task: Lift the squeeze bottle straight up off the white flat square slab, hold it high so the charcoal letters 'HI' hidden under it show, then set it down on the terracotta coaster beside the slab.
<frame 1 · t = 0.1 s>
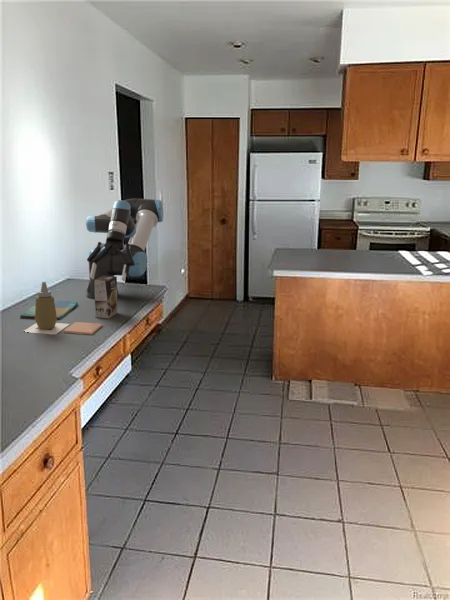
hand: (107, 279, 211), 15 cm above the worktop, tool tilted 35°, fingers open, 13 cm apart
white flat square slab: (46, 328, 194), on the worktop
squeeze bottle: (46, 328, 194), resting on white flat square slab
coaster pad: (83, 329, 195), on the worktop
dish towel: (50, 312, 216), on the worktop
coffee box: (106, 315, 214), on the worktop
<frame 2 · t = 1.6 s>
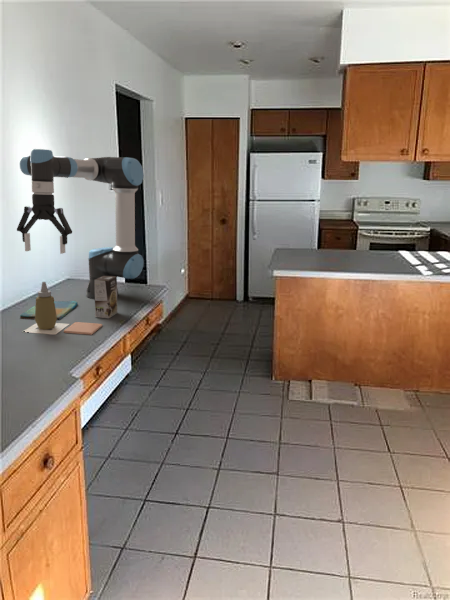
hand: (45, 252, 187), 30 cm above the worktop, tool pointing down, fingers open, 13 cm apart
nothing on the worktop moved.
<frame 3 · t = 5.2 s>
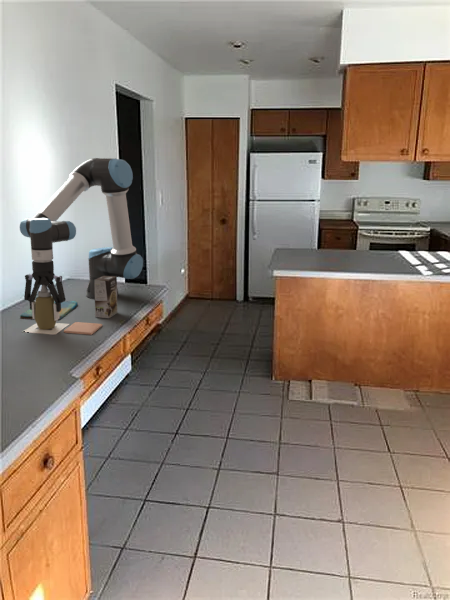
hand: (46, 318, 193), 4 cm above the worktop, tool pointing down, fingers closed on squeeze bottle, 8 cm apart
squeeze bottle: (46, 328, 194), resting on white flat square slab, touching gripper
everything else where it was.
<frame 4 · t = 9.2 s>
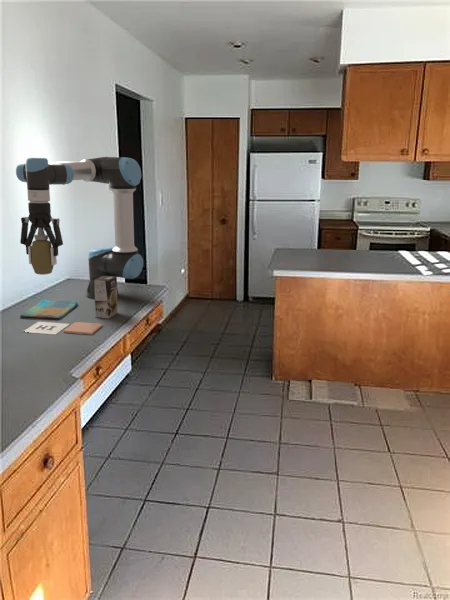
hand: (42, 263, 188), 25 cm above the worktop, tool pointing down, fingers closed on squeeze bottle, 8 cm apart
squeeze bottle: (43, 273, 189), point 21 cm above the worktop, touching gripper
everything else where it was.
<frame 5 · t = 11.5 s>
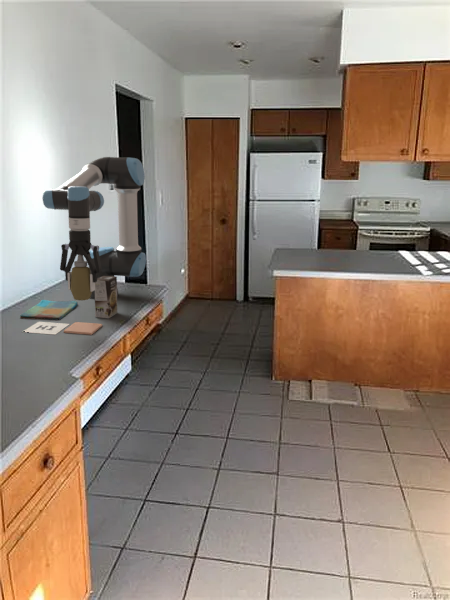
hand: (81, 289, 190), 16 cm above the worktop, tool pointing down, fingers closed on squeeze bottle, 8 cm apart
squeeze bottle: (81, 299, 191), point 12 cm above the worktop, touching gripper
everything else where it was.
when the fingers open (6 cm above the worktop, at t = 13.4 s): squeeze bottle drops 1 cm, resting on coaster pad.
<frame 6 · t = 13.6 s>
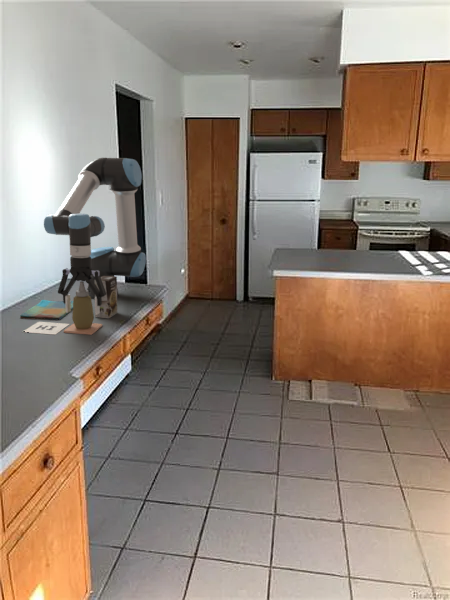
hand: (82, 312, 193), 7 cm above the worktop, tool pointing down, fingers open, 11 cm apart
squeeze bottle: (83, 327, 194), point 1 cm above the worktop, touching coaster pad
everything else where it was.
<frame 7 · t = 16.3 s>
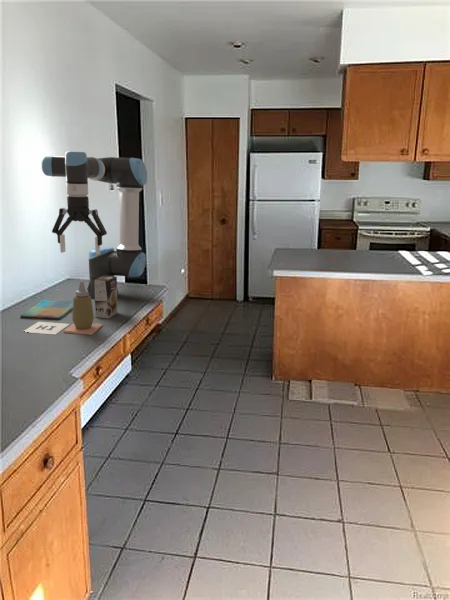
hand: (80, 253, 190), 29 cm above the worktop, tool pointing down, fingers open, 13 cm apart
nothing on the worktop moved.
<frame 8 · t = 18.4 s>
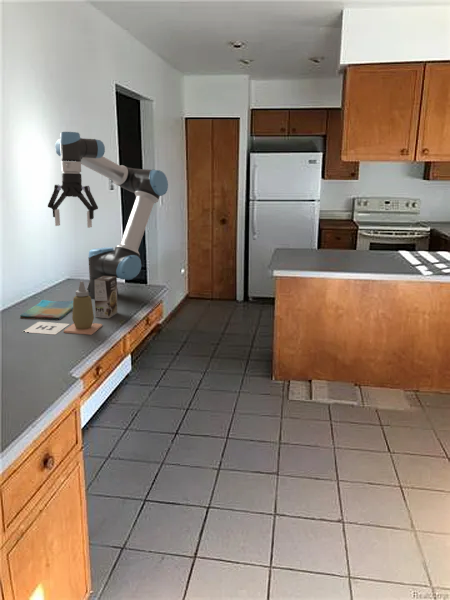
hand: (73, 226, 205), 37 cm above the worktop, tool pointing down, fingers open, 13 cm apart
nothing on the worktop moved.
at the end: squeeze bottle 0.0 cm off-centre on the coaster pad, point 0.6 cm above the coaster pad's base; squeeze bottle tilted 0°; the gripper is holding nothing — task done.
